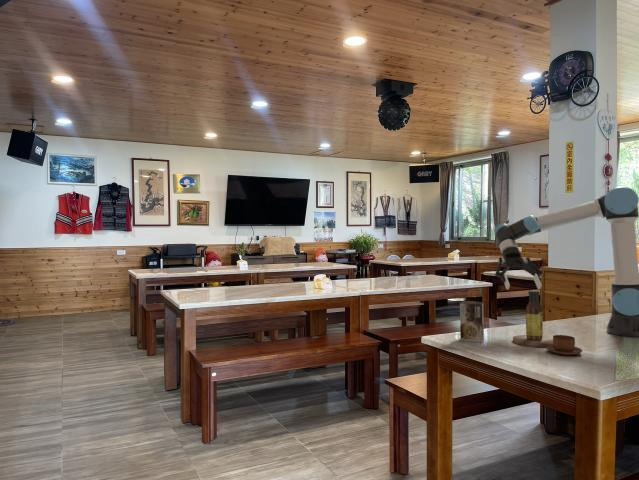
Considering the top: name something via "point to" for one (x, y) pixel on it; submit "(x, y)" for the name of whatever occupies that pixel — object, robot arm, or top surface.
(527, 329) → the sauce bottle
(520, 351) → the top surface
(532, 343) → the coaster pad
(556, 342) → the cup and saucer
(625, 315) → the robot arm
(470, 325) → the coffee box
